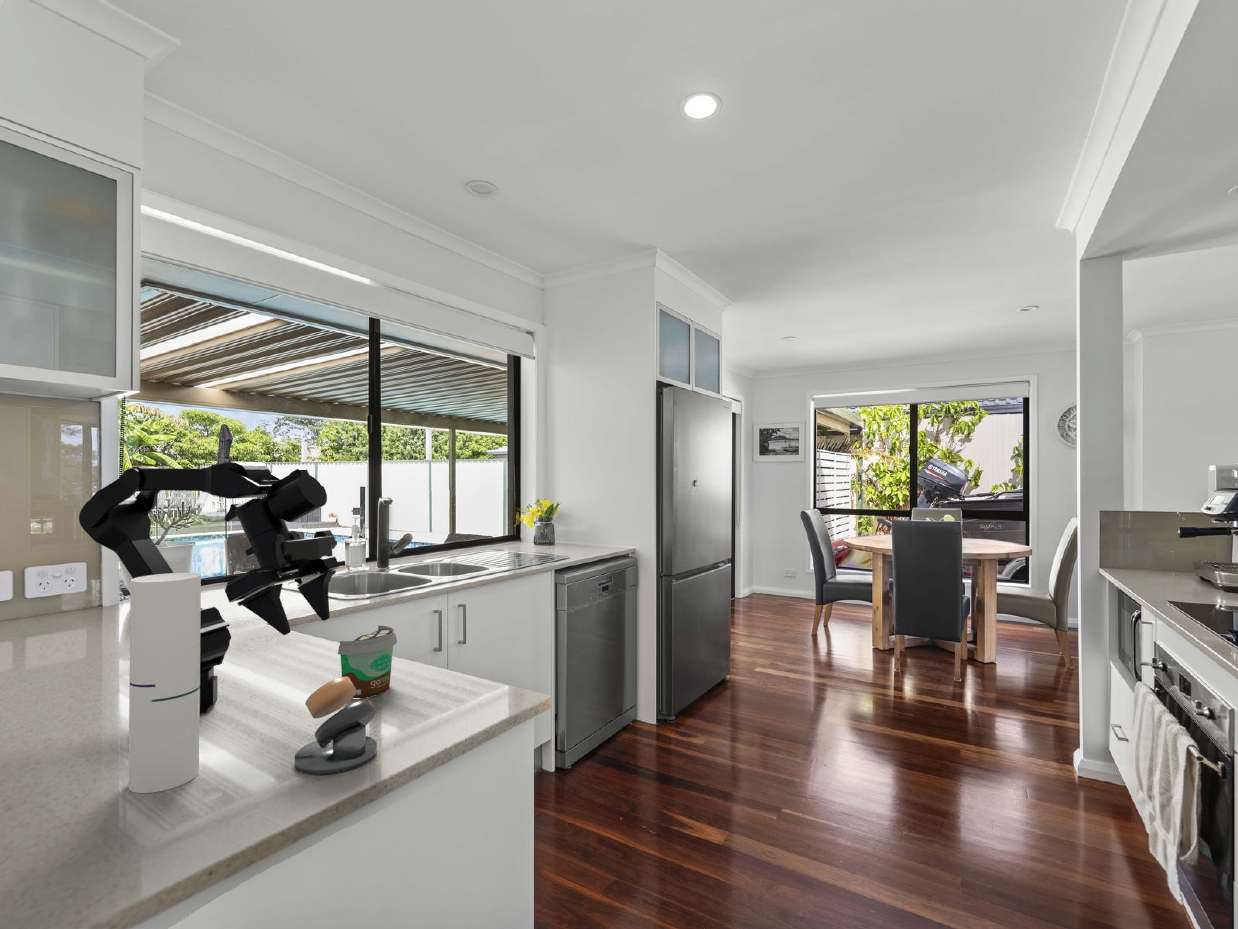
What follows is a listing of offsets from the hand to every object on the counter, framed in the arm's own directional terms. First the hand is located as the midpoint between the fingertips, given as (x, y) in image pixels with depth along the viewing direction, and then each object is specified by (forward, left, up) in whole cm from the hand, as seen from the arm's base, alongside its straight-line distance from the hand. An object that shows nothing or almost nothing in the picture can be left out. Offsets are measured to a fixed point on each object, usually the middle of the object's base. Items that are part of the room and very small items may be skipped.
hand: (307, 626), depth 98 cm
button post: (+6, -16, -14) cm, 22 cm away
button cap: (+5, -15, -9) cm, 18 cm away
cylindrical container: (-14, -15, -15) cm, 25 cm away
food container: (+10, +10, -15) cm, 20 cm away
